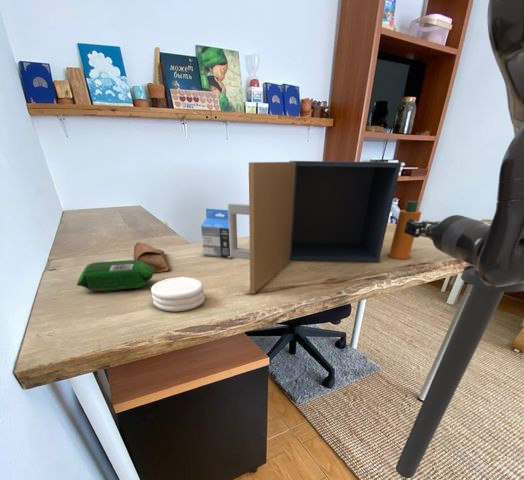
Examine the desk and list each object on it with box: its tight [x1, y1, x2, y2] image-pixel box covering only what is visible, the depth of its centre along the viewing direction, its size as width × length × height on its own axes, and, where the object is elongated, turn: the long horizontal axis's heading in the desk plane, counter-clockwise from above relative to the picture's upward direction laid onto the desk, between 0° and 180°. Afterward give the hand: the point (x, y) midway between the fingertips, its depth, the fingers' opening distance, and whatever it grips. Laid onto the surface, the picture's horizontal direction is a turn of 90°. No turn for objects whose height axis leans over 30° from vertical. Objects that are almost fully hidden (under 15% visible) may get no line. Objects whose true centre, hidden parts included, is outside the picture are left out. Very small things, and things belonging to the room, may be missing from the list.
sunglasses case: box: [133, 242, 170, 274], centre depth 80 cm, size 18×7×7 cm, turn 21°
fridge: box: [288, 160, 402, 263], centre depth 85 cm, size 18×26×24 cm
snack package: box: [76, 259, 158, 292], centre depth 64 cm, size 7×16×5 cm, turn 103°
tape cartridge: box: [200, 208, 233, 259], centre depth 84 cm, size 9×4×12 cm, turn 72°
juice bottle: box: [388, 200, 422, 260], centre depth 85 cm, size 6×6×15 cm
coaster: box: [150, 276, 206, 312], centre depth 58 cm, size 10×10×4 cm
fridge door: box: [227, 161, 296, 295], centre depth 67 cm, size 6×26×24 cm, turn 159°
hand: (426, 223), depth 74 cm, fingers open, 8 cm apart
